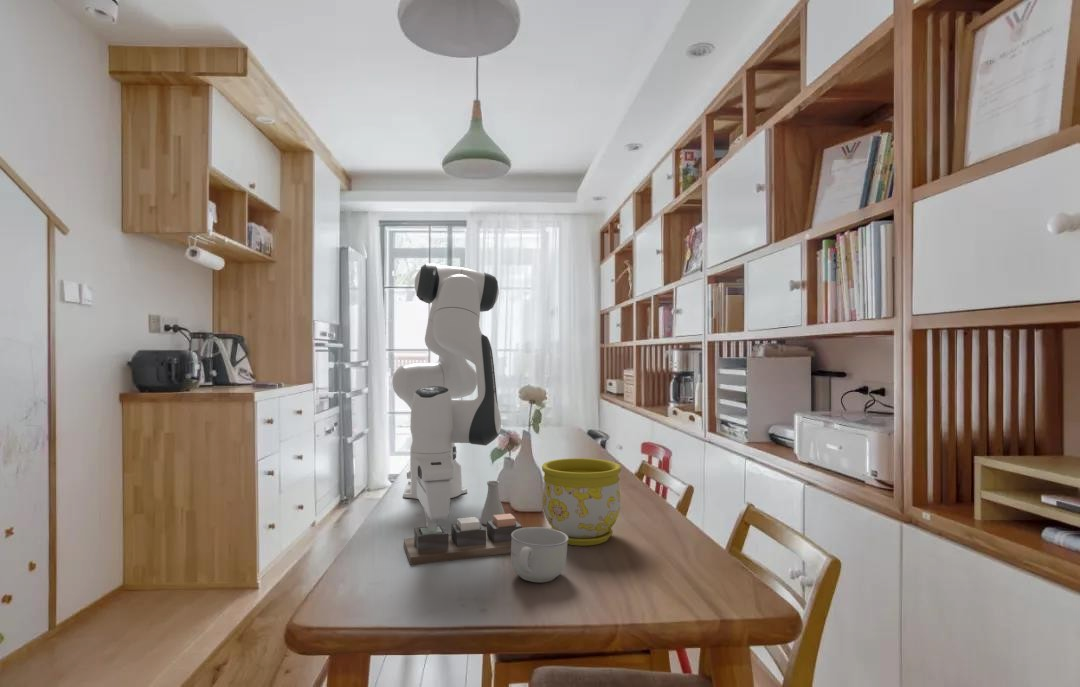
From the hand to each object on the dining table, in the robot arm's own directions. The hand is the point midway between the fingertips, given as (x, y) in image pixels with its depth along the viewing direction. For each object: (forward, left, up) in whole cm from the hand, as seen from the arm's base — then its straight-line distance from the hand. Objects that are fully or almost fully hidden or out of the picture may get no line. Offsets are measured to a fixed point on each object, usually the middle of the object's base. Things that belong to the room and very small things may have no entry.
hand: (431, 529), depth 124 cm
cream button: (0, +8, -1) cm, 8 cm away
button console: (0, +8, -5) cm, 9 cm away
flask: (-17, +18, -5) cm, 25 cm away
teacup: (+21, +16, -5) cm, 27 cm away
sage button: (0, 0, -2) cm, 2 cm away
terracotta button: (0, +16, -1) cm, 16 cm away
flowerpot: (+1, +34, -5) cm, 34 cm away
